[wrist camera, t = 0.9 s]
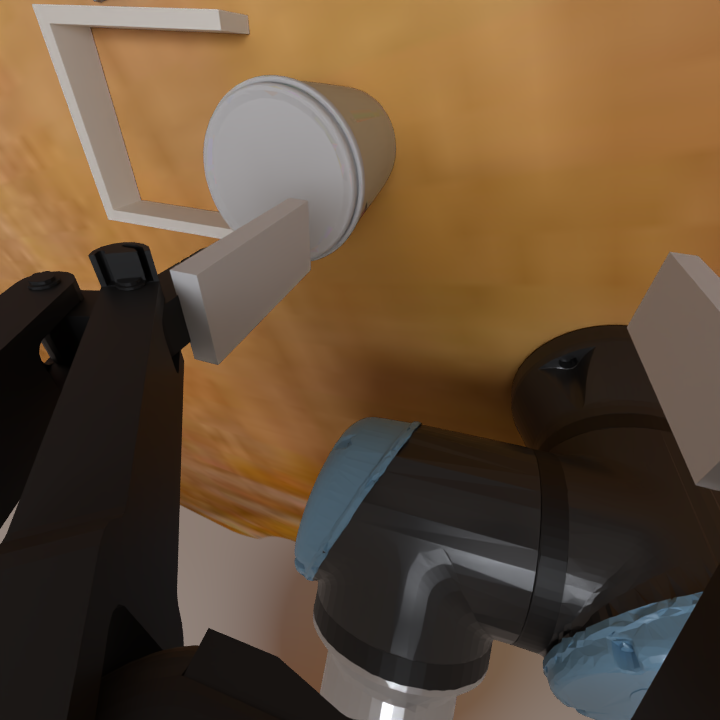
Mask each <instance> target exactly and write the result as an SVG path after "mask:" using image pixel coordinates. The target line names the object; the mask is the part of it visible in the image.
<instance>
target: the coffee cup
mask: <svg viewBox="0 0 720 720" xmlns="http://www.w3.org/2000/svg"><path fill="white" fill-rule="evenodd" d="M203 153H204V169H205V175H206V180H207V183H208V187H209V190H210V193H211V196H212V198H213V200H214V202H215V205H216V207H217V209H218V210H219V212H220V214H221V216H222V217H223V219H224V220H225V221H226V223H227V224H228V226H229V227H230V228H231V229H232V230H233V231H235V230H237V229H238V228H240V227H242V226H243V225H245V224H247V223H248V222H250V221H252V220H253V219H255V218H257V217H258V216H260V215H262V214H263V213H265V212H267V211H268V210H270V209H272V208H273V207H275V206H277V205H278V204H280V203H282V202H283V201H285V200H286V199H288V198H293V199H300V200H307V201H308V210H309V236H310V261H314V260H318V259H320V258H323V257H325V256H327V255H329V254H331V253H332V252H334V251H335V250H336V249H338V248H339V247H340V246H341V245H342V244H343V243H344V242H345V241H346V240H347V239H348V237H349V236H350V234H351V233H352V231H353V230H354V228H355V226H356V224H357V222H358V221H359V219H360V218H361V217H362V215H363V214H364V213H365V211H366V210H367V208H368V207H369V206H370V204H371V203H372V202H373V200H374V199H375V197H376V196H377V194H378V193H379V192H380V190H381V189H382V187H383V186H384V184H385V183H386V181H387V179H388V177H389V176H390V173H391V171H392V168H393V165H394V161H395V153H396V144H395V135H394V131H393V127H392V124H391V122H390V119H389V117H388V115H387V114H386V112H385V110H384V109H383V108H382V106H381V105H380V104H379V103H378V102H377V101H376V100H375V99H374V98H373V97H371V96H370V95H368V94H367V93H365V92H363V91H361V90H358V89H355V88H350V87H345V86H337V85H330V84H323V83H315V82H307V81H299V80H296V79H293V78H289V77H285V76H278V75H264V76H258V77H254V78H251V79H248V80H246V81H244V82H242V83H240V84H238V85H236V86H235V87H234V88H232V89H231V90H230V91H229V92H228V93H227V94H226V95H225V96H224V97H223V98H222V100H221V101H220V103H219V104H218V106H217V107H216V109H215V111H214V113H213V115H212V117H211V119H210V122H209V125H208V128H207V131H206V135H205V141H204V151H203Z"/></svg>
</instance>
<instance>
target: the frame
mask: <svg viewBox="0 0 720 720" xmlns="http://www.w3.org/2000/svg"><path fill="white" fill-rule="evenodd" d="M32 6H33V9H34V12H35V14H36V17H37V20H38V23H39V26H40V29H41V31H42V34H43V37H44V40H45V43H46V45H47V48H48V51H49V54H50V57H51V59H52V62H53V65H54V68H55V71H56V73H57V76H58V79H59V82H60V85H61V87H62V90H63V93H64V96H65V99H66V102H67V104H68V107H69V110H70V113H71V116H72V118H73V121H74V124H75V127H76V130H77V132H78V135H79V138H80V141H81V144H82V146H83V149H84V152H85V155H86V158H87V161H88V163H89V166H90V169H91V172H92V175H93V177H94V180H95V183H96V186H97V189H98V191H99V194H100V197H101V200H102V203H103V205H104V208H105V211H106V214H107V217H108V219H109V220H115V221H120V222H126V223H132V224H138V225H144V226H150V227H155V228H161V229H167V230H173V231H179V232H185V233H190V234H196V235H202V236H208V237H214V238H219V239H222V238H223V237H225V236H227V235H228V234H230V233H232V232H233V230H232V229H231V228H230V227H229V226H228V224H227V223H226V221H225V220H224V219H223V217H222V216H221V214H220V212H215V211H208V210H202V209H195V208H189V207H183V206H176V205H170V204H163V203H157V202H150V201H144V200H141V198H140V195H139V191H138V188H137V184H136V181H135V178H134V174H133V171H132V168H131V164H130V161H129V157H128V154H127V151H126V147H125V144H124V140H123V137H122V134H121V130H120V127H119V123H118V120H117V117H116V113H115V110H114V107H113V103H112V100H111V96H110V93H109V90H108V86H107V83H106V79H105V76H104V73H103V69H102V66H101V62H100V59H99V56H98V52H97V49H96V46H95V42H94V39H93V35H92V32H91V29H90V27H98V28H121V29H144V30H166V31H189V32H212V33H235V34H249V24H248V15H244V14H239V13H234V12H229V11H224V10H219V9H186V8H152V7H118V6H83V5H49V4H32Z"/></svg>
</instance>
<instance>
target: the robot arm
mask: <svg viewBox="0 0 720 720" xmlns="http://www.w3.org/2000/svg"><path fill="white" fill-rule="evenodd" d="M88 256H89V258H90V261H91V263H92V265H93V268H94V270H95V273H96V275H97V277H98V280H99V282H100V285H101V289H100V291H93V290H80V288H79V285H78V283H77V281H76V279H75V277H74V275H73V274H71V273H68V272H60V271H57V272H50V271H45V272H42V273H40V272H39V273H35V274H33V275H32V276H30V277H27V278H24V279H22V280H20V281H19V282H17V283H15V284H14V285H13V286H11V287H10V288H9V289H7V290H6V291H5V292H3V293H2V294H1V295H0V528H1V527H2V525H3V524H4V522H5V521H6V519H7V518H8V516H9V515H10V513H11V512H12V510H13V509H14V507H15V506H16V504H17V503H18V501H19V500H20V501H19V503H18V506H17V508H16V511H15V514H14V516H13V519H12V522H11V524H10V527H9V529H8V532H7V534H6V536H5V538H4V540H3V541H2V543H1V544H0V720H453V715H454V709H455V703H456V696H458V695H460V694H463V693H466V692H468V691H470V690H472V689H474V688H475V687H477V685H479V684H480V683H481V682H482V680H483V679H484V677H485V675H486V672H487V670H488V665H489V659H490V653H491V647H492V641H493V640H498V641H501V642H504V643H508V644H510V645H514V646H517V647H520V648H523V649H526V650H529V651H532V652H535V653H538V654H540V655H542V656H543V657H544V660H543V669H544V674H545V676H546V677H547V679H548V682H549V685H550V689H551V690H552V692H553V694H554V695H555V696H556V697H557V699H559V700H560V701H561V702H562V703H563V704H564V705H566V706H568V707H573V708H575V709H576V710H577V711H578V712H579V713H580V714H582V715H584V716H587V717H590V718H593V719H595V720H720V278H719V277H718V276H717V275H716V274H715V273H714V272H713V271H712V270H711V269H710V268H709V267H708V266H707V265H706V264H705V263H704V262H703V260H702V259H701V258H700V257H699V256H694V255H687V254H680V253H673V252H669V254H668V256H667V258H666V259H665V261H664V263H663V265H662V266H661V268H660V270H659V272H658V273H657V275H656V277H655V279H654V281H653V282H652V284H651V286H650V288H649V289H648V291H647V293H646V295H645V296H644V298H643V300H642V302H641V303H640V305H639V307H638V309H637V310H636V312H635V314H634V316H633V317H632V319H631V321H630V323H629V325H628V326H599V327H592V328H587V329H582V330H578V331H574V332H571V333H568V334H565V335H563V336H560V337H558V338H556V339H554V340H552V341H550V342H548V343H546V344H545V345H543V346H542V347H540V348H539V349H537V350H536V351H535V352H534V353H533V354H531V355H530V356H529V357H528V358H527V359H526V360H525V362H524V363H523V364H522V365H521V367H520V368H519V370H518V372H517V374H516V376H515V378H514V381H513V385H512V414H513V419H514V422H515V425H516V427H517V429H518V431H519V433H520V435H521V437H522V439H523V441H524V443H525V445H526V447H524V446H519V445H514V444H510V443H505V442H500V441H496V440H491V439H486V438H482V437H477V436H472V435H468V434H463V433H458V432H454V431H449V430H444V429H440V428H435V427H430V426H426V425H422V423H420V422H418V421H416V422H415V421H414V422H412V423H408V422H402V421H396V420H390V419H384V418H378V417H368V418H364V419H361V420H359V421H357V422H356V423H354V424H353V425H351V426H350V427H349V428H348V429H347V430H346V431H345V432H344V434H343V435H342V436H341V437H340V439H339V440H338V441H337V443H336V444H335V446H334V448H333V449H332V451H331V452H330V454H329V456H328V458H327V460H326V462H325V463H324V465H323V467H322V469H321V471H320V473H319V475H318V478H317V480H316V482H315V484H314V487H313V489H312V492H311V494H310V497H309V499H308V502H307V505H306V507H305V510H304V513H303V517H302V520H301V523H300V527H299V530H298V534H297V539H296V545H295V556H296V558H295V566H296V569H297V571H298V572H299V573H300V574H302V575H303V576H304V577H305V578H306V579H307V580H311V581H314V580H318V590H317V595H316V600H315V604H314V613H313V622H314V626H315V629H316V631H317V634H318V635H319V637H320V638H321V640H322V642H323V643H324V645H325V646H326V648H327V649H328V654H327V660H326V665H325V670H324V676H323V680H322V686H321V691H320V694H319V693H318V692H317V691H316V690H315V689H314V688H312V687H311V686H310V685H309V684H308V683H307V682H306V681H305V680H303V679H302V678H301V677H300V676H299V675H298V674H297V673H295V672H294V671H293V670H292V669H291V668H290V667H288V666H287V665H286V664H285V663H284V662H283V661H282V660H281V659H280V658H278V657H276V656H274V655H272V654H270V653H267V652H265V651H262V650H260V649H258V648H255V647H253V646H250V645H248V644H246V643H243V642H241V641H239V640H236V639H234V638H231V637H229V636H227V635H224V634H222V633H219V632H217V631H214V630H212V629H210V628H209V629H208V630H207V632H206V634H205V636H204V638H203V640H202V642H201V643H200V645H199V646H196V645H195V646H184V642H183V629H182V622H181V617H180V612H179V607H178V599H177V572H178V541H179V539H178V538H179V509H180V476H181V444H182V412H183V379H184V359H183V356H182V353H181V349H182V348H184V347H185V346H186V345H187V344H188V343H189V342H190V344H191V347H192V351H193V354H194V358H195V359H197V360H201V361H205V362H209V363H213V364H217V365H219V364H220V363H221V362H222V360H223V359H224V358H225V357H226V356H227V355H228V354H229V353H230V352H231V351H232V350H233V349H234V348H235V347H236V346H237V345H238V344H239V343H240V342H241V341H242V340H243V339H244V338H245V337H246V336H247V335H248V334H249V333H250V332H251V331H252V330H253V329H254V328H255V327H256V326H257V325H258V324H259V323H260V322H261V320H262V319H263V318H264V317H265V316H266V315H267V314H268V313H269V312H270V311H271V310H272V309H273V308H274V307H275V306H276V305H277V304H278V303H279V302H280V301H281V300H282V299H283V298H284V297H285V296H286V295H287V294H288V293H289V292H290V291H291V290H292V289H293V288H294V287H295V286H296V285H297V284H298V283H299V282H300V280H301V279H302V278H303V277H304V276H305V275H306V274H307V273H308V272H309V271H310V270H311V262H310V236H309V210H308V201H307V200H300V199H293V198H288V199H286V200H285V201H283V202H282V203H280V204H278V205H277V206H275V207H273V208H272V209H270V210H268V211H267V212H265V213H263V214H262V215H260V216H258V217H257V218H255V219H253V220H252V221H250V222H248V223H247V224H245V225H243V226H242V227H240V228H238V229H237V230H235V231H233V232H232V233H230V234H228V235H227V236H225V237H223V238H222V239H220V240H218V241H217V242H215V243H213V244H212V245H210V246H208V247H206V248H203V249H200V250H199V251H197V252H195V253H194V254H192V255H190V257H187V258H185V259H183V260H182V261H181V263H179V262H178V263H177V264H175V265H173V266H172V267H170V268H168V269H167V270H165V271H163V272H162V273H160V274H158V275H157V272H156V268H155V265H154V262H153V259H152V255H151V252H150V249H149V247H148V246H146V245H144V244H141V243H135V242H123V243H116V244H110V245H107V246H103V247H100V248H98V249H96V250H94V251H92V252H91V253H90V254H89V255H88ZM41 342H42V344H43V346H44V347H45V349H46V351H47V352H48V354H49V356H50V358H49V359H48V360H47V361H46V362H45V363H43V362H42V361H41V358H40V355H39V348H40V344H41Z"/></svg>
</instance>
